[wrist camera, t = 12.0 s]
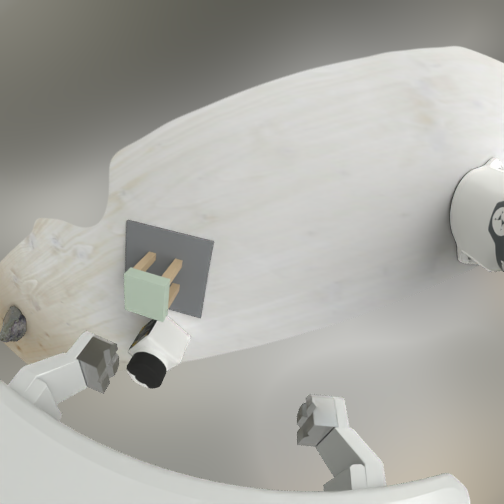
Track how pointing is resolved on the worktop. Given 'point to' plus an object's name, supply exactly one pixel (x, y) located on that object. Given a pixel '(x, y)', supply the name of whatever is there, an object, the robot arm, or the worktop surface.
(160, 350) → the medicine bottle
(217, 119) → the worktop surface
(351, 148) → the worktop surface
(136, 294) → the stool
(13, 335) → the mineral rock
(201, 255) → the mat
